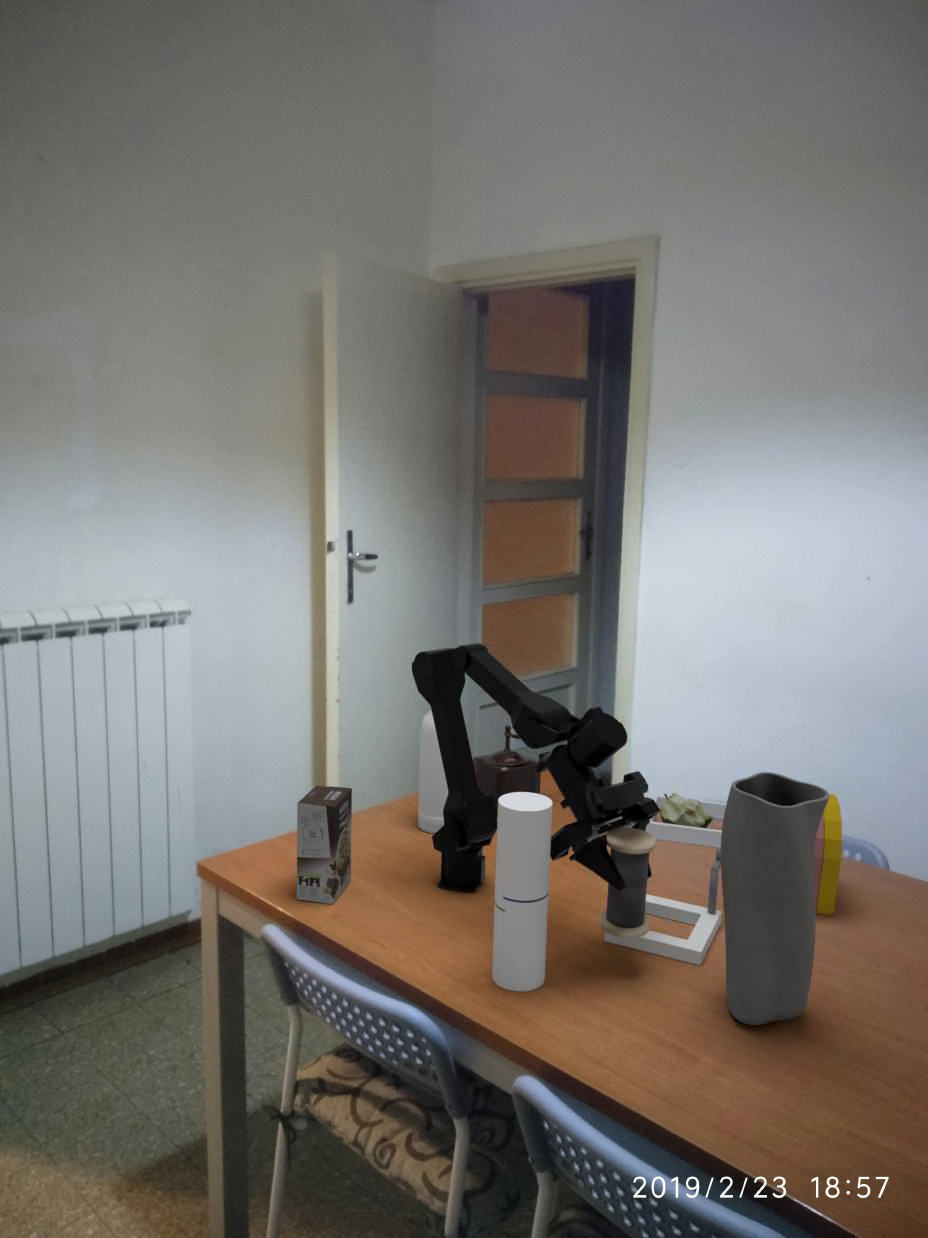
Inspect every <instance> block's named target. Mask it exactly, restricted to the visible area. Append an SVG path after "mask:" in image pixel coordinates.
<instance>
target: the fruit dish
mask: <svg viewBox="0 0 928 1238" xmlns="http://www.w3.org/2000/svg"><path fill="white" fill-rule="evenodd" d="M667 797H669V796H667ZM651 799H653V800H654V801H655V802H656V804H657V806H658V807H659V809H661V807H662V805H663V804H664V803H665V802H666V801H667V798H666V797H665V795H660V794H659V795H657V794H653V795H652V797H651ZM698 801H699V802H700V804H701V805H702V807H703V809H704V811H705V812H706V813H708V814H709V815H710V816H711V817H713V819H718V820H723V819H724V813H725V808H726V804H727V802H726V803H724V802H716V801H710V800H699V799H698ZM655 819H656V816H654V817H653V818H652V819H650V823H649V824H648V825H647V826H646V830H645V831H646V832H648V833H650V834H652V835H653V836H654V837H655V839H656V840H657V841H666V842H671V843H673V842H674V843H681V844H689V845H697V846H703V847H711V848H716V849H721V834H722V829H720V830H719V829H712V828H707V829H706V828H698V827H691V826H683V825H675V824H667V823H663V822H658V821H655Z"/></svg>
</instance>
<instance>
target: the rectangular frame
mask: <svg viewBox="0 0 928 1238" xmlns="http://www.w3.org/2000/svg"><path fill="white" fill-rule="evenodd" d="M720 869H721V848H716V852H715V861H714V863H713V865H712V866H711V868H710V876H709V887H708V888H709V889H708V900H707V901H708V903H707V907H704V906H700V905H695V904H691V903H688V902H687V903H686V902H684V901H683V902H682V901H678V900H674V899H670V898H665V897H660V896H656V895H653V894H652V895H651V894H647V893H646V904H645V914H646V915H650V916H655V917H660V918H663V919H667V918H668V920H672V921H675V920H676V921H675V922H679V923H685V924H690V925H693V926H694V927H693V929H692V931H691V932H690V935H689V937H688V939H685V938H680V937H676V936H672V935H668V934H664V933H661V932H656V931H652V930H649V931H648V932H647V934H645V935H643V936H641V937H636V938H624V937H618V936H615V935H612V934H610V933H608V932H606V931H605V930H604V942H606V943H609V944H610V943H611V944H614V945H619V946H623V947H627V948H631V949H634V950H638V951H642V952H647V953H651V954H652V955H653V954H654V955H658V956H662V957H666V958H669V959H673V960H677V961H682V962H686V963H689V964H693V965H698V966H701V965H702V963H703V961H704V959H705V957H706V955H707V952H708V950H709V948H710V946H711V944H712V942H713V941H714V938H715V936H716V934H717V932H718V930H719V928H720V926H721V922H722V911H721V910H717V900H718V899H717V898H718V890H719V889H718V887H719V875H720V874H719V873H720Z"/></svg>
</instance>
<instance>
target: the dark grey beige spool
mask: <svg viewBox="0 0 928 1238" xmlns="http://www.w3.org/2000/svg"><path fill="white" fill-rule="evenodd" d="M606 835H607V847H609V848H610V852H609V854H610V856H611V858H612V860H613V862H614V864H615V866H616V868H617V870H618V872H619V874H620V876H621V878H622V880H623V883H624V885H625V888H624V889H622V890H620V891H619V890H617V889H616V888H614V887H613V886H612V885H610V884H609V883H608V882H607V898H606V910H604V911H603V912H602V913H601V915H600V926H601V928H602V929H603V930H604V932H605V931H606V932H608V933H610V934H612V935H615V936H618V937H624V938H636V937H641V936H643V935H645V934H647V932H648V931H650V920H649V917H648V916H646V915H645V914H646V913H645V904H646V894H647V889H648V888H647V887H648V879H647V877H648V864H650V853H652V852H653V851H654V850H655V848H656V842H657V841H656V840H657V839H655V837H654V836H653V835H652V834H650V833H648V832H646V831H643V830H640V829H635V828H615V829H612V830H610V831H608V832H607V833H606Z"/></svg>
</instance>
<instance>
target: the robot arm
mask: <svg viewBox="0 0 928 1238" xmlns="http://www.w3.org/2000/svg"><path fill="white" fill-rule="evenodd" d="M411 672H412V677H413V680H414V683H415V686H416V688H417V692H418V693H419V694H420V695H421V697H422V698H423V699H424V700H425V701H426V703H428V705H429V706H430V710H432V715H433V720H434V724H435V729H436V734H437V739H438V744H439V749H440V753H441V758H442V763H443V768H444V773H445V778H446V782H447V787H448V795H447V799H446V802H445V805H444V809H443V818H444V825H443V826H442V827H441V828H440V829H439V830H438V831H437V832H436V833H435V834H434V833H433V835H432V836H431V841H432V845H433V849H434V850H435V851H437V852H439V853H440V855H441V856H440V879H439V880H438V882H437V883H436V885H437V888H441V889H443V888H444V889H446V890H453V891H454V890H456V891H461V892H466V893H467V892H468V893H475V892H476V891H477V890H478V889H479V887H480V886H481V885H482V884H483V883H484V881H485V878H486V860H487V859H486V855H485V854H484V855H483V852H484V851H483V849H484V848H483V847H487V846H488V847H489V846H490V845H491V843H492V840H493V838H494V836H495V834H496V833H497V822H498V814H497V811H496V808H495V799H494V797H493V795H492V794H490V795H486V794H485V793H484V792H483V791H482V789H481V788H480V787H479V786H478V782H477V777H476V773H475V768H474V763H473V758H474V757H473V754H472V749H471V744H470V740H469V735H468V731H467V726H466V719H465V717H464V711H463V707H462V702H461V697H462V695H463V693H464V688H465V685H466V682H467V681H466V680H467V679H466V676H468V677H469V679H471V680H472V681H473V682H474V683H475V684H476V685H477V686H478V687H480V689H482V690H483V691H484V692H485V693H486V695H488V696H489V697H490V698H491V699H492V700H493V701H494V702H495V703H496V704H498V705H499V706H500V708H501V709H503V710H504V711H505V712H506V713H507V714H508V716H509V717H510V722H511V728H512V729H513V731H514V732H515V734H516V735H518V736H519V737H520V738H521V739H520V740H521V741H522V742H523V743H524V745H525V746H526V747H528V748H530V749H532V750H537V749H538V750H539V749H543V748H546V747H549V746H553V745H554V746H555V745H556V746H555V747H554V748H553V749H551V750H550V751H546V752H542V753H540V754H539V755H538V761H537V762H538V763H537V767H536V772H537V773H544V772H547V771H548V772H549V774H550V775H551V778H552V779H553V781H554V783H555V784H556V787H557V788H558V790H559V791H560V793H561V795H562V797H563V800H561V801H559V804H560V805H561V808H562V809H563V810H564V809H568V808H569V809H570V812H571V813H572V814H573V817H574V818H575V820H576V821H573V822H570V823H567V824H565V825H563V826H562V827H561V828H559V830H557V831H556V832H555V833H553V834H551V850H550V860H552V861H553V862H554V861H557V860H560V859H562V858H565V857H567V856H568V855H569V850H570V849H572V850H571V851H572V852H573V854H571V855H570V856H569V857H568V859H569V861H570V862H572V861H575V862H577V863H578V864H580V865H582V866H583V867H585V868H587V869H588V870H590V872H593V874H595V875H597V876H598V877H600V878H601V879H602V880H604V881H605V882H606V883H607V884H608V883H609V884H610V885H612V886H613V887H614V888H616V889H617V890H619V891H620V890H622V889H624V888H625V885H624V883H623V880H622V878H621V876H620V874H619V872H618V870H617V868H616V866H615V864H614V862H613V860H612V858H611V856H610V852H609V851H608V845H607V832H608V831H610V830H612V829H615V828H635V829H640V830H643V831H645V830H646V826H647V825H648V824H649V823H650V819H652V818H653V817H654V816H655V817H656V816H657V815H659V814H660V812H661V811H660V809H659V807H658V806H657V804H656V802H655V801H654V800H653V799H652V798H650V797H648V796H647V797H645V794H647V793H648V791H649V784H648V783H647V780H646V778H645V777H644V776H643V775H642V773H641V772H640V771H639V770H637V771H632V772H629V773H626V774H624V775H623V781H621V782H617V783H614V784H612V783H611V781H610V779H609V778H608V777H606V776H602V777H600V778H599V776H598V774H597V772H596V771H595V769H594V768H597V769H598V768H599V767H601V766H602V765H603V764H605V763H606V762H607V761H608V760H609V759H611V757H613V756H614V755H615V754H617V753H618V751H620V750H621V749H622V748H623V747H625V745H626V744H627V743H628V733H627V730H626V728H625V726H624V724H623V723H622V722H620V721H619V720H618V719H617V718H616V717H614V716H613V715H611V714H609V713H606V712H604V711H603V709H602V707H601V706H595V707H590V708H589V709H587V711H586V712H585V713H584V715H583V716H582V717H581V718H580V717H578V716H576V715H574V714H572V713H571V712H570V711H569V710H568V708H566V707H565V706H564V705H562V703H559V702H558V701H556V700H554V699H553V698H552V697H548V696H545V695H543V694H539V693H536V692H535V691H533V690H531V689H530V688H529V687H528V686H527V685H525V683H523V682H522V681H521V680H520V679H519V678H517V677H516V675H514V674H513V673H512V672H511V671H510V670H509V669H508V668H507V667H505V665H504V664H502V663H501V662H500V661H498V659H497V658H496V657H494V656H493V655H492V654H491V653H490V652H489V649H488V648H487V646H486V645H485V644H483V643H479V642H476V643H468V644H461V645H458V646H457V647H455V648H452V647H445V648H444V647H443V648H440V649H439V648H437V649H430V650H424V651H420V652H418V653H417V654H416V655H415V657H414V660H413V661H412V662H411ZM565 742H567V743H566V744H564V743H565ZM562 743H563V744H562ZM652 873H653V872H652V870H651V865H650V863H649V864H648V877H647V880H648V879H650V878H651V877H652V876H653V874H652Z"/></svg>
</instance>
